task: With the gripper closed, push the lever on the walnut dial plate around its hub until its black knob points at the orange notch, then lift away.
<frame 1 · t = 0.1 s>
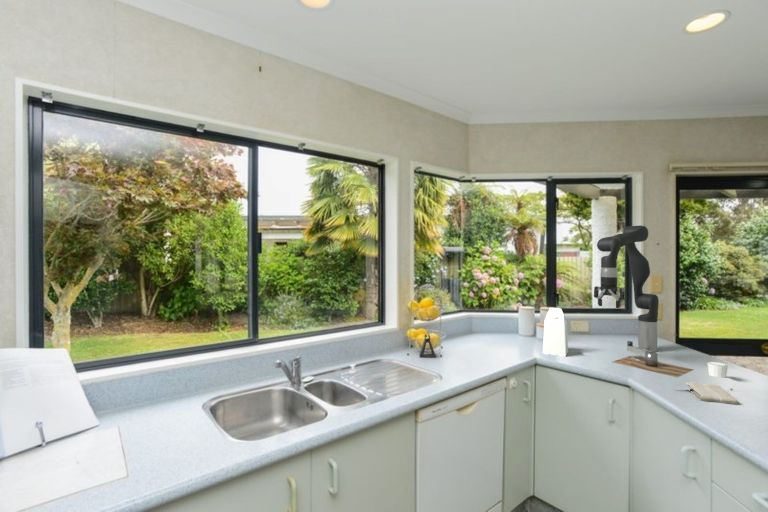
hand: (608, 307, 193), 29 cm above the worktop, tool pointing down, fingers open, 8 cm apart
milk: (555, 353, 213), on the worktop
dial plate: (651, 368, 183), on the worktop
phone stand: (427, 356, 207), on the worktop
lever: (641, 353, 190), point 6 cm above the worktop, hinge at 0.0°
washcloth: (709, 396, 149), on the worktop
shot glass: (717, 379, 168), on the worktop
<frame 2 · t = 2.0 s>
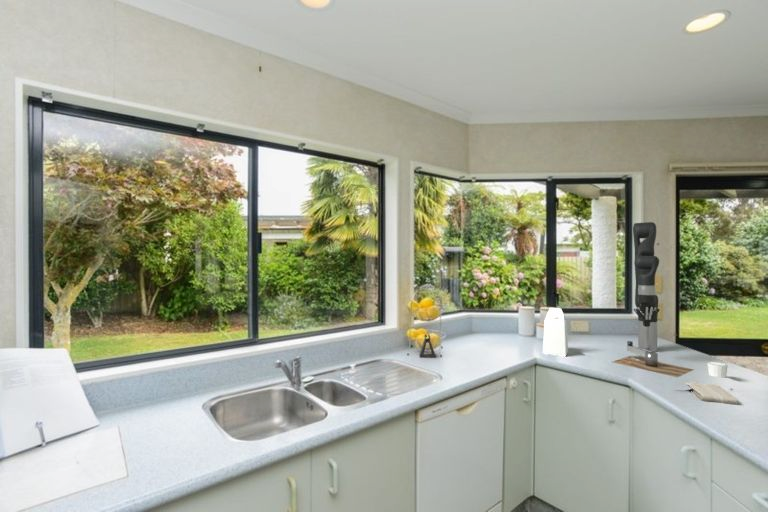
hand: (646, 326, 194), 19 cm above the worktop, tool pointing down, fingers closed
nothing on the worktop moved.
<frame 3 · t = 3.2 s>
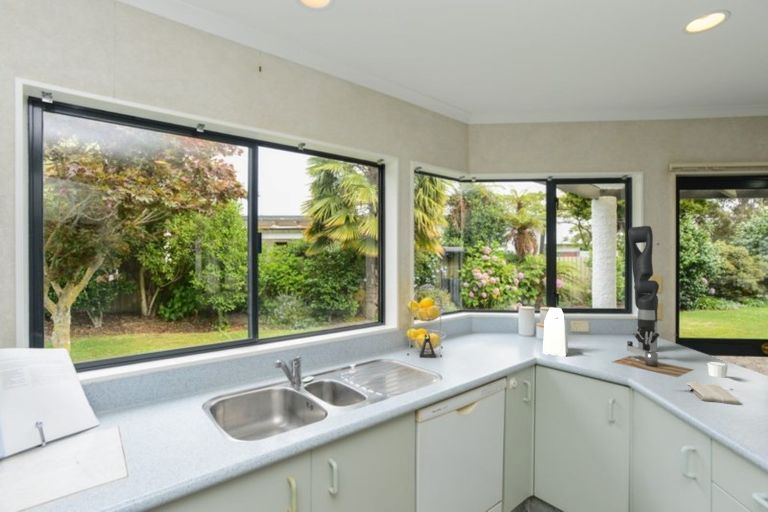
hand: (646, 350, 194), 6 cm above the worktop, tool pointing down, fingers closed
nothing on the worktop moved.
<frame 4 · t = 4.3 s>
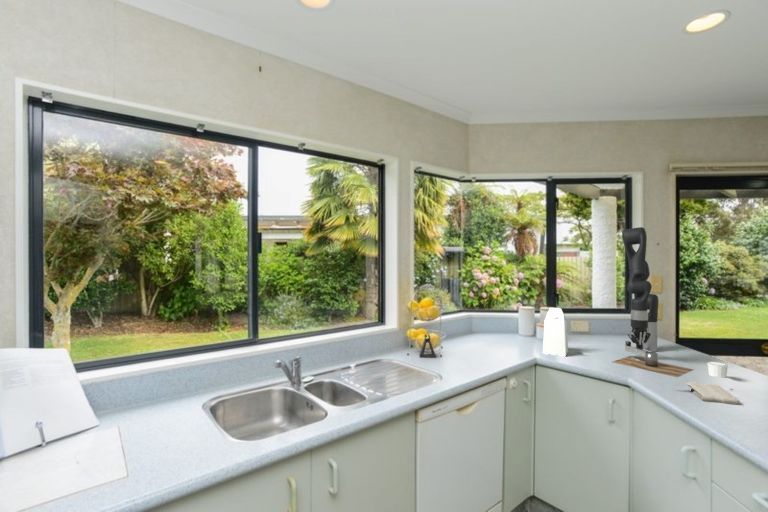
hand: (639, 351, 194), 6 cm above the worktop, tool pointing down, fingers closed
lever: (640, 353, 190), point 6 cm above the worktop, hinge at 4.0°, touching gripper
everything else where it was.
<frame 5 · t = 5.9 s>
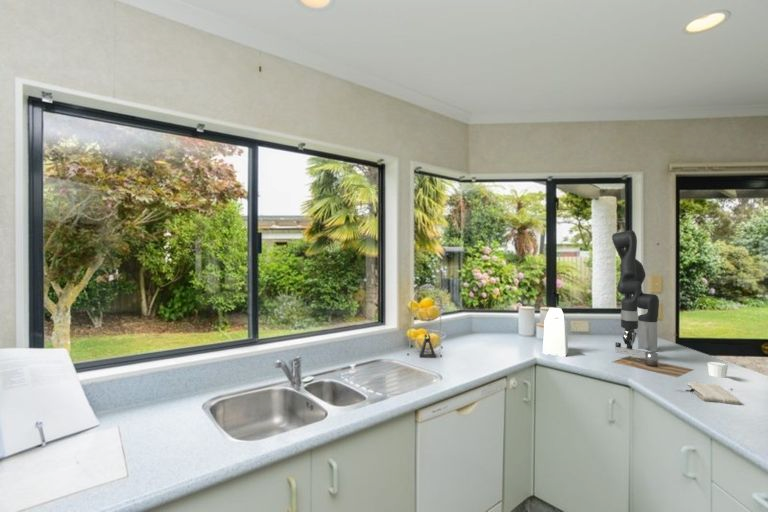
hand: (629, 351, 194), 6 cm above the worktop, tool pointing down, fingers closed
lever: (635, 353, 189), point 6 cm above the worktop, hinge at 33.6°, touching gripper
everything else where it was.
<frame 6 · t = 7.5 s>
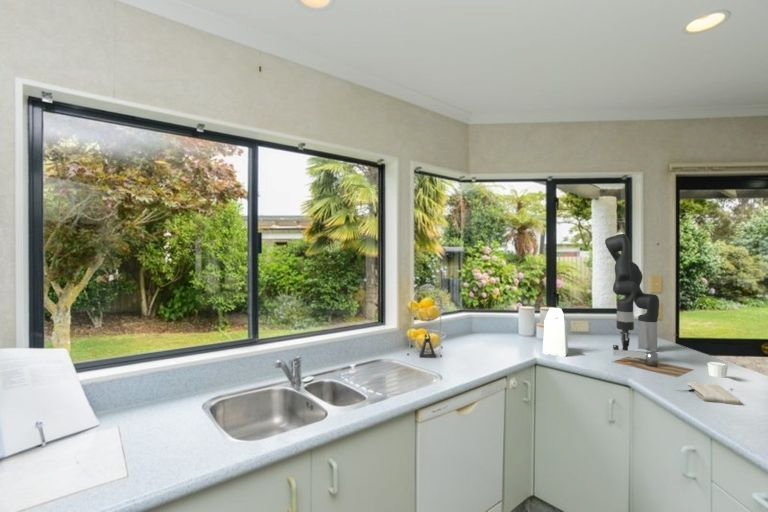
hand: (625, 353, 191), 6 cm above the worktop, tool pointing down, fingers closed
lever: (634, 355, 186), point 6 cm above the worktop, hinge at 59.3°, touching gripper
everything else where it was.
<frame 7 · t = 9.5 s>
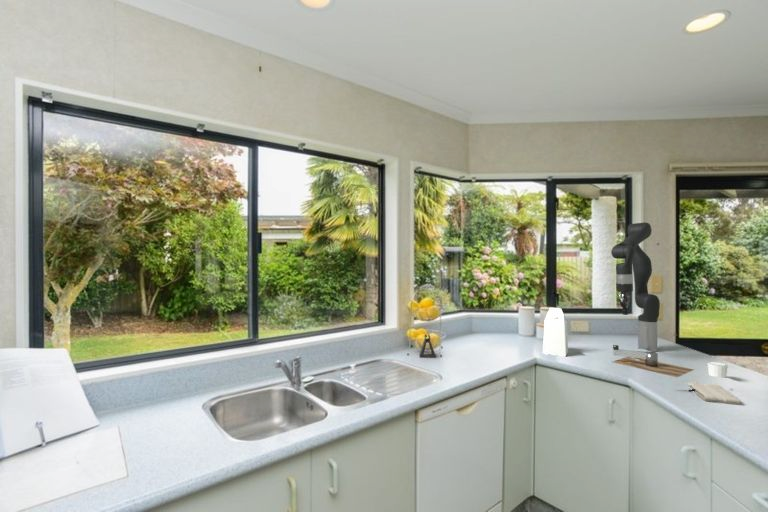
hand: (625, 314, 199), 24 cm above the worktop, tool pointing down, fingers closed
lever: (634, 355, 186), point 6 cm above the worktop, hinge at 59.4°
everything else where it was.
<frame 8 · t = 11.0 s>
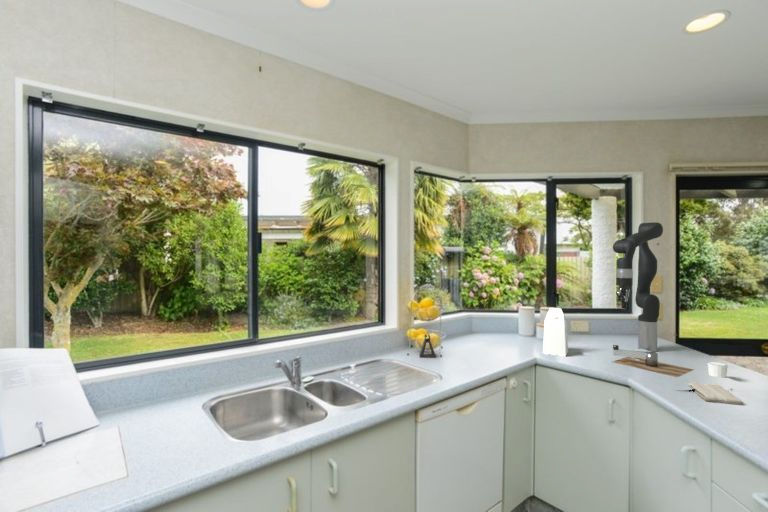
hand: (624, 308, 203), 27 cm above the worktop, tool pointing down, fingers closed
nothing on the worktop moved.
at the end: lever at +59° (first picture: +0°) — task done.
